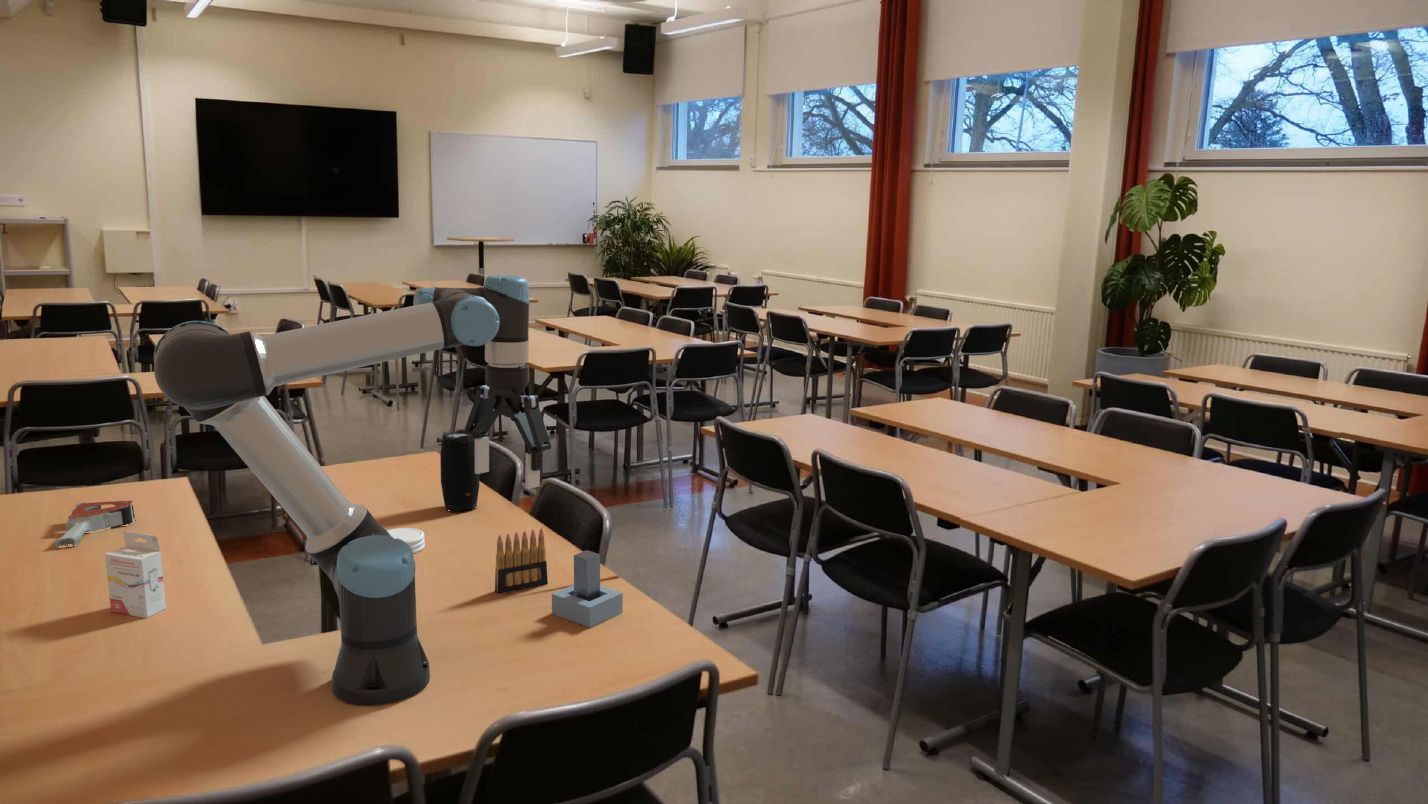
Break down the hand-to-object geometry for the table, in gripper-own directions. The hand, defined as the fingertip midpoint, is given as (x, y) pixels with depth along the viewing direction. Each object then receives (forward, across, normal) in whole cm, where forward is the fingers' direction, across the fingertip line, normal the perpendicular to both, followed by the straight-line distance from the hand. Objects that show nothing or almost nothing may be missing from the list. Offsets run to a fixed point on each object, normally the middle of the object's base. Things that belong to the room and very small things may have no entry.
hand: (506, 479), depth 181 cm
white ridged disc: (+29, +48, -12) cm, 57 cm away
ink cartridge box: (+30, +57, +40) cm, 76 cm away
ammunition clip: (+28, +11, -14) cm, 33 cm away
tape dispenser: (+30, +111, +28) cm, 118 cm away
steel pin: (+27, -8, -14) cm, 31 cm away
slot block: (+28, -8, -14) cm, 32 cm away
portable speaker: (+28, +61, -39) cm, 78 cm away
